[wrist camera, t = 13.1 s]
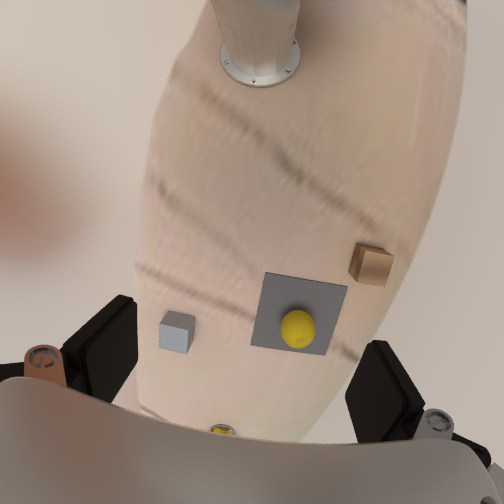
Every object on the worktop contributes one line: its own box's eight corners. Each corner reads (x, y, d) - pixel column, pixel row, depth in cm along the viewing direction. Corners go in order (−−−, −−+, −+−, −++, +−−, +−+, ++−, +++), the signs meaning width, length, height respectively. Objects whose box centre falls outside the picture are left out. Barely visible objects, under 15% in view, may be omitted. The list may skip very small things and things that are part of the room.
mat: (265, 272, 45) (265, 272, 45) (347, 286, 45) (347, 287, 45) (250, 344, 49) (250, 345, 49) (324, 354, 49) (325, 355, 49)
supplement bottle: (231, 423, 55) (225, 457, 45) (237, 436, 56) (233, 469, 47) (207, 424, 56) (200, 457, 46) (215, 437, 57) (208, 469, 47)
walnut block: (356, 242, 44) (365, 250, 39) (382, 248, 44) (394, 256, 39) (348, 271, 45) (356, 282, 40) (374, 276, 45) (384, 287, 40)
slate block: (168, 310, 48) (159, 323, 44) (195, 316, 48) (188, 330, 44) (167, 333, 50) (159, 347, 45) (193, 339, 50) (186, 354, 45)
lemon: (314, 326, 47) (322, 351, 40) (284, 334, 48) (286, 361, 40) (307, 298, 46) (315, 321, 38) (275, 307, 47) (277, 331, 39)
